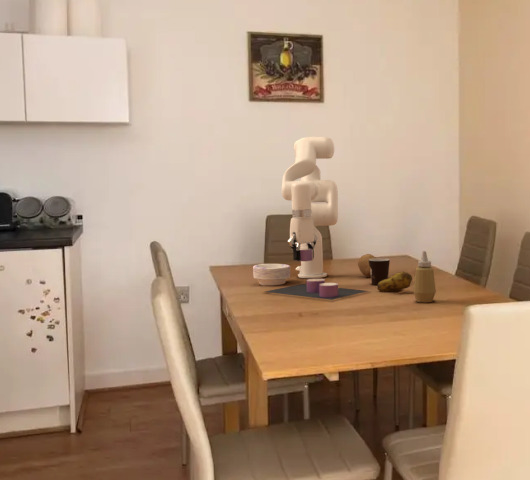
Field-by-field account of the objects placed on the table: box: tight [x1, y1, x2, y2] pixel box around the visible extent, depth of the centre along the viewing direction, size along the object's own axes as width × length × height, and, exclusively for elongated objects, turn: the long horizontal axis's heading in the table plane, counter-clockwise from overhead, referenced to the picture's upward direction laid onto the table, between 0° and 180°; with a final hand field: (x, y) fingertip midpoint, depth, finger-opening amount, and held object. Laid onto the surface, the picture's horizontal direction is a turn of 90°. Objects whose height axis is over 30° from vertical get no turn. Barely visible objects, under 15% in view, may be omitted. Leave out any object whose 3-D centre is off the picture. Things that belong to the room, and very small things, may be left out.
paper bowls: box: [252, 263, 291, 286], centre depth 319 cm, size 15×15×8 cm
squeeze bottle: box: [413, 250, 437, 304], centre depth 275 cm, size 8×8×18 cm
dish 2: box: [319, 282, 339, 298], centre depth 287 cm, size 7×7×4 cm
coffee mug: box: [369, 257, 391, 286], centre depth 318 cm, size 12×9×10 cm
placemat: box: [264, 283, 368, 301], centre depth 299 cm, size 34×22×1 cm, turn 55°
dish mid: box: [305, 278, 326, 293], centre depth 298 cm, size 7×7×4 cm
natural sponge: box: [357, 253, 377, 278], centre depth 336 cm, size 9×9×10 cm
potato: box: [377, 271, 413, 293], centre depth 296 cm, size 8×13×8 cm, turn 72°
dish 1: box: [299, 248, 313, 262], centre depth 307 cm, size 7×7×4 cm
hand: (303, 259), depth 307 cm, fingers closed on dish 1, 7 cm apart
